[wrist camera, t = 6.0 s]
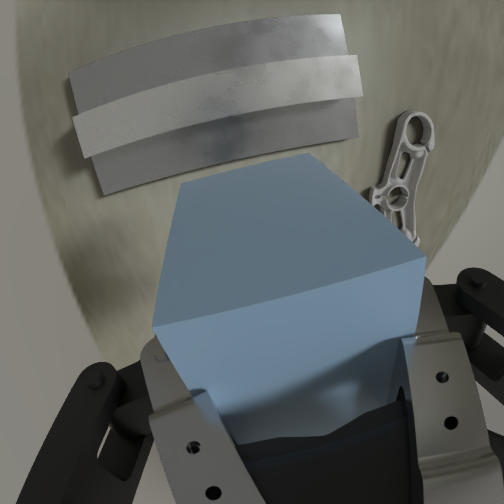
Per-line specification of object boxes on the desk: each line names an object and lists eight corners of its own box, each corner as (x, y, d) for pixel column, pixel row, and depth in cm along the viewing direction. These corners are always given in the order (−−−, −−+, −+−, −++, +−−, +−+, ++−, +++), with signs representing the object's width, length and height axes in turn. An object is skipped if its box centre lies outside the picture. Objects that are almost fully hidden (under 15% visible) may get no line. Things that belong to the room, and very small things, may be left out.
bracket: (463, 134, 23) (409, 274, 30) (450, 130, 25) (400, 265, 32) (404, 102, 22) (348, 265, 28) (392, 101, 23) (340, 255, 30)
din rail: (335, 16, 19) (354, 8, 16) (353, 135, 24) (373, 143, 21) (73, 73, 18) (54, 72, 15) (107, 191, 23) (94, 207, 20)
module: (308, 153, 11) (426, 256, 5) (326, 299, 14) (388, 433, 8) (181, 183, 11) (151, 327, 5) (228, 324, 14) (246, 472, 8)
